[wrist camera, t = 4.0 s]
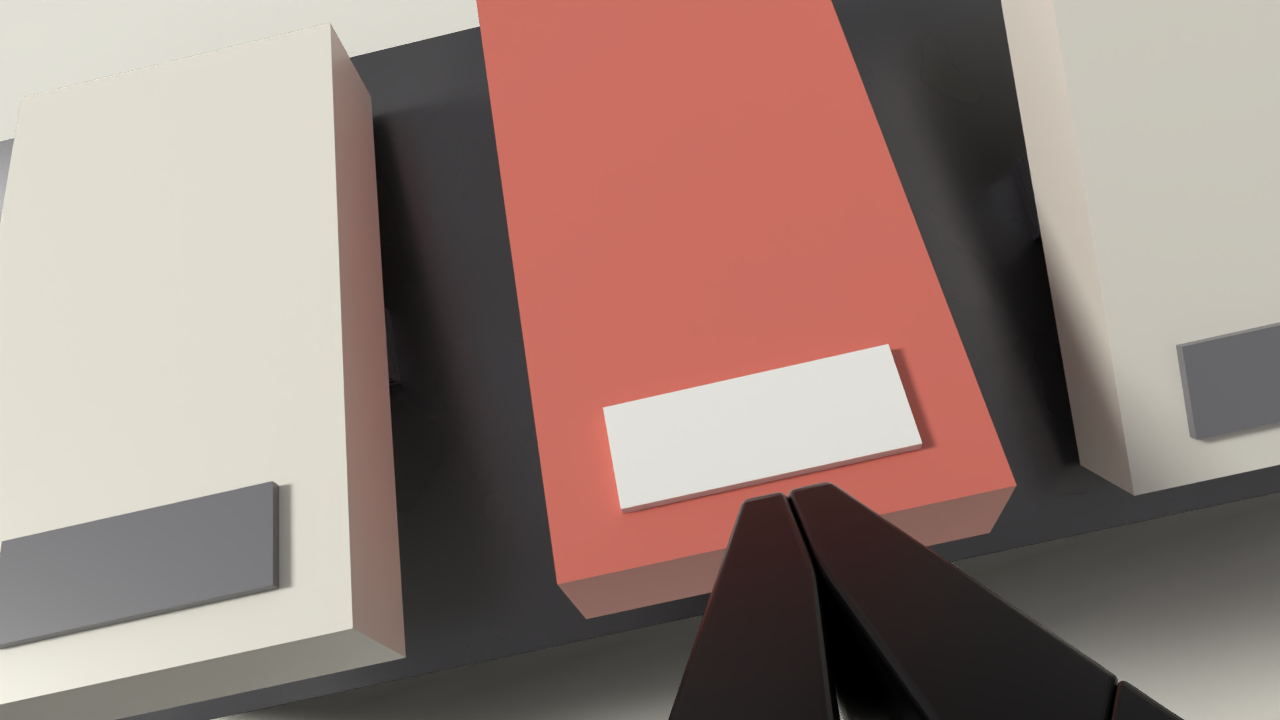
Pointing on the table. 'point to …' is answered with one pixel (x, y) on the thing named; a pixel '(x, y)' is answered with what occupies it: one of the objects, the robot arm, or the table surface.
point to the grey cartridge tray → (496, 362)
